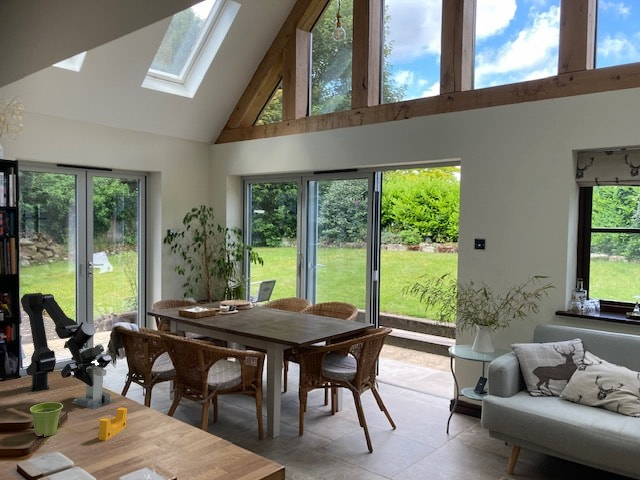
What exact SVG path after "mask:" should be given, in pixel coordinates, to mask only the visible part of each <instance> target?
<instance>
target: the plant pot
mask: <svg viewBox="0 0 640 480" xmlns="http://www.w3.org/2000/svg"><path fill="white" fill-rule="evenodd" d="M63 408H64V405H63V404H62V403H61V402H53V401H50V402H41V403H39V404H35V405H33V406H31V407H30V408H29V412H30V413H31V414H30V415H31V416H32V421H33V430H34V433H35V432H38V433H43V434H44V437H43V438H45V437H47V436H50V437H51V436H53V435H55V434H56V433H57V430H58V425H59V420H60V415H61V411H62V409H63Z"/></svg>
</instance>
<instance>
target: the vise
mask: <svg viewBox="0 0 640 480" xmlns="http://www.w3.org/2000/svg"><path fill="white" fill-rule="evenodd" d="M93 400H94V399H91V398H88V397H86V396H84V395H82V396H79V397H77V398H74V399H73V401H72V402H71V404H74V405H77V406H80V407H83V408H86V409H90V410H91V411H92V410H96V409H98V408H103V407H105V406H108V405H112V404H114V403H116V401H115V400H114V401H113V400H111V394H110V393H108V392H104V391H102V402H100V403H97V404H94V405H93Z"/></svg>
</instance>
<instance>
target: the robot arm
mask: <svg viewBox="0 0 640 480" xmlns="http://www.w3.org/2000/svg"><path fill="white" fill-rule="evenodd" d="M20 304H21V306H22V307H21V308H22V310H23V311H24V312H25V313H26V315H27V316H28V319H29V325H30V331H31V337H32V338H31V339H32V345H33V352H32V355H31V357H30V363H29V365H28V366H27V368H26V369H25V371H26V375H27V376H31V385H29V390H30V391H31V392H36V391H44V390H49V389H50V388H51V387H50V386H49V384H48V382H49V381H48V379H49V373H53V372H54V369H55V367H56V363H57V358H56V353H55V351H54V349H53V350H51V349H50V347H49V345H48V339H47V334H46V333H47V332H46V327H45V322H44V321H45V320H44V317H43V316H44V315H43V314H44V313H43V312H44V310H45V312H46V313H47V314H48V316H49V318H50V319H51V320H52V322H53V324H54V325H55V328H54V331H55V333H56V335H57V337H58V338H59V339H61V340H65V342H64V345H63V349H68V350H69V352H70V355H71V358H70V359H71V361H74V362H69V363H67V364H66V365H65V366H64V367H63V368H62V369H61V370H60V375H61V378H62V379H66V378H67V379H68V378H70V377H71V376H72V378H75V379H77V380H79V381H81V382H82V383H85V384H87V385H89V386H90V387H92V386H93V384H92V381H91V379H90V377H89V375H88V373H87V368H91V367H95V366H97V367H101V368H103V369H105V368H106V367H107V366H108V365H109V364H110V363H111V362H112V361H113V358H112V357H111V354H110V355H109V354H106V355H102V353H104V352H105V347H104V346H103V344H102V343H99V344H97V345H95V347H87V346H86V344H87V343H89V342H90V340H91V339H92V338H93V337H94V335H95V334H96V333H97V329H96V327H95V326H94V325H93V324H91V323H89V322H88V321H87V320H85V321H81V323H80V324H78V322H76V321H75V320H74V319H72V318H71V317H68V316H67V315H66V313H65V312H64V310H63V309H62V307H61V306H60V305H59V304H58V302H57V301H56V300H55V296H54V294H53V293H42V292H31V293H24V294H23V295H22V297H21V298H20ZM66 339H67V340H66ZM97 356H100V357H99V358H97ZM96 359H97V360H96ZM72 373H73V375H72Z"/></svg>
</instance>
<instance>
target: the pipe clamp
mask: <svg viewBox="0 0 640 480" xmlns="http://www.w3.org/2000/svg"><path fill="white" fill-rule="evenodd" d="M127 416H128V407H127V408H126V407H119V408H117V409H116V414H115V416H113V417H111V418H105V417H103V418H101V419H99V423H98V441H99V440H100V441H104V442H105V441H107V440H110V439H111V438H112V437H114V436H115V435H117V434H118V433H119V432H121V431H122V430H123V429H125V428H127V419H128V418H127Z"/></svg>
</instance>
